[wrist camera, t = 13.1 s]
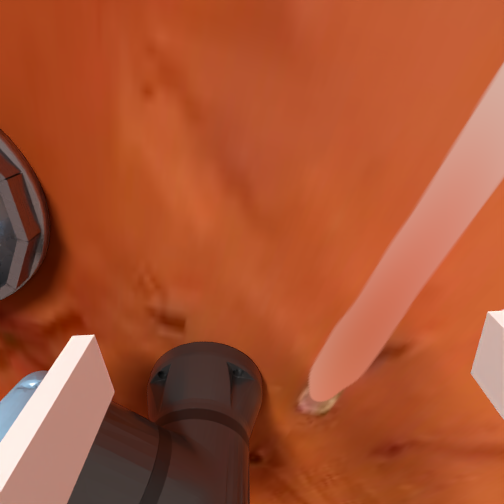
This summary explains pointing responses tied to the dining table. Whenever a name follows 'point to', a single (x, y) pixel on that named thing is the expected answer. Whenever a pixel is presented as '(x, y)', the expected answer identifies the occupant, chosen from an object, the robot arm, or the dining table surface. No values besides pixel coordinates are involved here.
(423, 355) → the dining table surface
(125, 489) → the robot arm
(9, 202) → the carrier
